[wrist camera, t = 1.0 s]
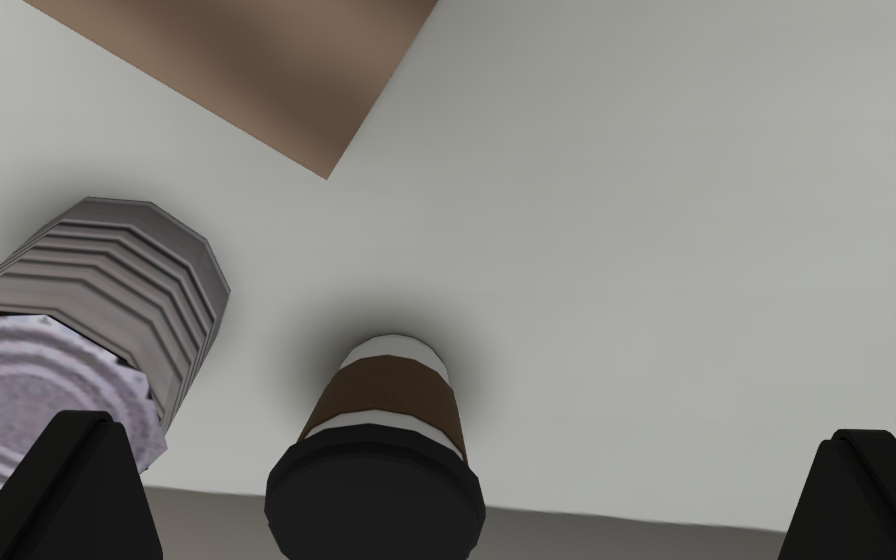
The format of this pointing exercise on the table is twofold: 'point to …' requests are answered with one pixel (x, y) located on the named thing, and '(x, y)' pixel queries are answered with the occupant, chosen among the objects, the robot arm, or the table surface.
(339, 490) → the coffee cup
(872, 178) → the table surface
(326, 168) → the walnut plinth
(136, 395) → the can
